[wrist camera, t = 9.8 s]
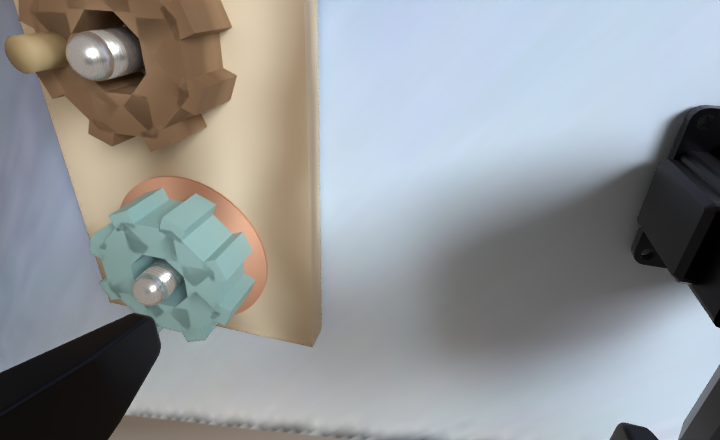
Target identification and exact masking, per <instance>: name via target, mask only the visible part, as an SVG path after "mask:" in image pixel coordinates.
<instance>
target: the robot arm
mask: <svg viewBox="0 0 720 440" xmlns="http://www.w3.org/2000/svg"><path fill="white" fill-rule="evenodd" d="M704 115H709V120H708V122H707V123H706V124H704V125H703V126H697V121H698V120H699V118H700V117H702V116H704ZM637 222H638V223H639V225H640V228H639V231H638V233H637V235H636V238H635V240H634V243H633V245H632V248H631V253H632V255H633V257H634V259H635V260H636V261H637V262H638V263H640V264H643V265H650V266H656V267H662V268H667V269H668V270H669V272H670V273H671V275H672V276H673V277H674V279H675V280H676V281H677V282H679V283H685V284H688V286H689V287H690V289H691V290H692V292H693V293H694V295H695V296H696V298H697V299H698V301H699V302H700V303H701V305H702V306H703V308H704V309H705V311H706V312H707V314H708V315H709V317H710V318H711V320H712V321H713V323H714V324H715V326H716V327H719V328H720V106H711V105H702V106H698V107H695V108H693V109H692V110H691V111H689V112H688V114H687V115H686V117H685V118H684V121H683V123H682V126H681V128H680V131H679V133H678V135H677V138H676V140H675V143H674V145H673V148H672V150H671V152H670V155H669V157H668V159H666V160H664V161H663V162H661V163H660V164H659V165H658V168H657V170H656V173H655V175H654V178H653V180H652V183H651V185H650V188H649V190H648V193H647V195H646V198H645V200H644V203H643V205H642V208H641V210H640V213H639V215H638V218H637ZM646 249H651V252H650V253H648V254H644V255H642V254H641V253H642V251H644V250H646ZM160 349H161V342H160V338H159V335H158V331H157V327H156V323H155V320H154V319H153V318H152V317H151V316H148V315H144V314H139V313H132V314H129V315H127V316H125V317H123V318H120V319H118V320H116V321H114V322H111V323H109V324H107V325H105V326H103V327H100V328H98V329H96V330H94V331H92V332H89V333H87V334H85V335H83V336H81V337H78V338H76V339H74V340H72V341H70V342H67V343H65V344H63V345H61V346H59V347H56V348H54V349H52V350H50V351H47V352H45V353H43V354H41V355H39V356H36V357H34V358H32V359H30V360H28V361H25V362H23V363H21V364H19V365H17V366H14V367H12V368H10V369H8V370H5V371H3V372H1V373H0V440H108V439H109V437H110V436H111V434H112V433H113V431H114V430H115V428H116V427H117V426H118V424H119V423H120V421H121V419H122V417H123V416H124V414H125V413H126V411H127V409H128V408H129V406H130V404H131V403H132V401H133V399H134V397H135V396H136V394H137V392H138V390H139V389H140V387H141V385H142V384H143V382H144V380H145V378H146V377H147V375H148V373H149V371H150V370H151V368H152V366H153V365H154V363H155V361H156V359H157V358H158V356H159V353H160ZM610 440H658V439H657V437H656V436H655V435H654V434H653V433H652V432H651V431H650V430H649V429H647V428H645V427H642V426H637V425H633V424H629V423H620V424H618V426H617V427H616V429H615V431H614V433H613V435H612V436H611V438H610ZM678 440H720V365H719V366H718V368H717V370H716V371H715V373H714V374H713V376H712V378H711V379H710V381H709V382H708V384H707V386H706V387H705V389H704V390H703V392H702V394H701V395H700V397H699V398H698V400H697V402H696V403H695V405H694V406H693V408H692V409H691V411H690V413H689V414H688V416H687V417H686V419H685V421H684V423H683V426H682V429H681V432H680V435H679V439H678Z"/></svg>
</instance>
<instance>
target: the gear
mask: <svg viewBox="0 0 720 440" xmlns="http://www.w3.org/2000/svg"><path fill="white" fill-rule="evenodd" d="M19 21H21V22H22V23H24V24H26V25H28V26H30V27H32V28H34V30H35V33H34V34H25V35H16V36H10V37H8V38H7V39H6V41H5V52H6V55H7V57H8V59H9V61H10V62H11V64H12V65H13V66H14V67H15V68H16V69H17V70H19V71H20V72H23V73H26V74H29V73H34V72H36V74H37V75H38V77H39V78H40V80H41V82H42V83H43V85H44V86H45V88H46V90H47V91H48V93H49V94H50V96H51V98H52V99H55V98H59V97H63V96H65V97H66V98H67V99H68V100H69V101H70V102H71V103H72V104H73V105H74V106H75V107H76V108H77V109H78V110H79V111H80V112H82V113H83V114H84V115H85V116H86V117H87V118H88V119H89V129H88V134H90V135H91V136H93V137H95V138H97V139H99V140H101V141H103V142H104V143H106V144H108V145H110V146H112V147H113V146H115V145H117V144H120V143H122V142H124V141H127V140H129V139H131V138H133V137H136V136H139V137H143V139H144V141H145V143H146V144H147V146H148V148H149V150H150V151H151V152H152V151H155V150H158V149H161V148H164V147H167V146H170V145H172V144H174V143H176V142H178V141H180V140H182V139H184V138H186V137H188V136H190V135H192V134H194V133H196V132H198V131H200V130H201V129H203V128H205V127H207V125H206V123H205V121H204V119H203V117H202V115H201V113H203V112H205V111H207V110H210V109H212V108H214V107H216V106H218V105H221V104H223V103H225V102H227V101H229V100H231V96H232V93H233V89H234V85H235V82H236V78H237V75H235V74H234V73H232V72H230V71H228V70H226V69H224V68H223V61H222V53H221V44H220V35H219V33H220V32H222V31H224V30H227V29H229V28H231V27H232V25H231V23H230V20H229V18H228V16H227V14H226V11H225V9H224V7H223V4H222V2H221V0H19ZM124 23H125V24H126V25H127V26H128V28H129V29H130V30H131V31H132V32H133V33H134V34H135V35H136V36H137V37H138V38H139V40H140V45H141V50H142V55H143V60H144V65H145V70H146V75H144V74H143V73H142V72H141V71H140V72H136V73H132V74H128V75H124V76H120V77H116V78H112V79H108V80H104V81H93V80H88V79H86V78H84V77H82V76H80V75H79V74H77V73H76V72H75V71H74V70H73V69H72V68H71V66H70V65H69V63H68V61H67V58H66V52H65V51H66V45H67V42H68V41H69V40H70V38H71V37H72V36H74V35H75V34H77V33H80V32H83V31H92V30H100V29H109V28H117V27H122V26H123V25H124Z"/></svg>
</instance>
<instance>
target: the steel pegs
mask: <svg viewBox="0 0 720 440" xmlns="http://www.w3.org/2000/svg"><path fill="white" fill-rule="evenodd" d="M65 52H66V58H67V61H68V63H69V65H70V66H71V68H72V69H73V70H74V71H75V72H76V73H77V74H79V75H80V76H82V77H84V78H86V79H88V80H93V81H104V80H108V79H112V78H116V77H120V76H124V75H128V74H132V73H136V72H140V71H143V70H145V65H144V60H143V55H142V50H141V45H140V40H139V38H138V37H137V36H136V35H135V34H134V33H133V32H132V31H131V30H130V29H129V28H128V26H126V27H117V28H109V29H100V30H92V31H83V32H80V33H77V34H75V35H74V36H72V37H71V38H70V40H69V41H68V42H67V45H66V51H65ZM184 281H185V280H184V277H183V276H182V275H181V274H180V273H179V272H178V271H177V270H176V269H175V268H174V267H173V266H172V265H170V264H169V263H168V262H167V261H166V260H165V259H162V258H159V259H158V260H157V261H156V262H155V263H153V264H152V265H151V266H150V267H149V268H147V269H146V270H145V271H144V272H143V273H141V274H140V275H139V276H138V277H137V278H136V280H135V281H134V283H133V287H132V291H133V295H134V297H135V299H136V300H137V301H138V302H139V303H141V304H144V305H147V306H154V305H158V304H160V303H162V302H163V301H165V300H166V299H167V298H168V297H169V296H170V295H171V294H172V293H173V292H174V291H175V290H176V289H177V288H178V287H179V286H180V285H181V284H182V283H183V282H184Z"/></svg>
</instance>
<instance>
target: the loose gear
mask: <svg viewBox="0 0 720 440" xmlns="http://www.w3.org/2000/svg"><path fill="white" fill-rule="evenodd" d="M215 207H216V204H215V203H213V202H211V201H209V200H207V199H206V198H204V197H202V196H200V195H198V194H196V193H195V194H194V195H193V196H191V197H190V198H188V199H187V200H186V201H184V202H182V201H176V200H170V199H169V198H168V196H167V195H166V193H165V191H164V189H163V188H160V189H157V190H153V191H150V192H146V193H145V194H143V195H141V196H140V197H138V198H136V199H135V200H133V201H132V202H130V203H128V204H127V205H125V206H123V207H122V208H120V209H119V210H117V211H115V212H114V213H112V214H110V215H109V216H108V217H109V219H110V220H111V222H112V223H110V224H109V225H107V226H106V227H104V228H102V229H101V230H99V231H98V232H96V233H95V234H93V235H91V242H90V251H89V253H91V254H93V255H95V256H97V257H99V258H100V259H101V260H102V263H103V267H104V270H105V273H106V277H105V278H104V279H103V280H102V281H100V282H99V283H100V285H101V286H102V288H103V289H104V291H105V292H106V294H107V295H108V296H109V298H110V299H111V300H115V299H121V300H122V301H123V302H124V303H125V304H126V305H128V306H129V307H130V308H131V309H132V310H133V311H134V312H135V313H139V314H144V315H148V316H151V317H152V318H153V319H154V320H155V323H156V327H157V331H158V333H159V332H160V331H161V330H162V328H166V329H170V330H174V331H179V332H182V333H183V335H184V337H185V338H186V340H187V341H188V342H191V341H200V340H205V339H206V338H207V337H208V335H209V334H210V333H211V332H212V330H213V329H214V328H215V326H216V325H217V324H218V323H220V324H222V325H224V326H226V324H227V323H228V322H229V320H230V319H231V318H232V316H233V315H234V314H235V313H236V311H237V310H238V309H239V307H240V306H241V305H242V303H243V302H244V301H245V299H246V298H247V297H248V295H249V294H250V292H251V289H252V287H253V285H254V282H255V279H253V278H251V277H249V276H247V275H246V274H245V272H244V263H243V261H244V260H245V259H246V258H247V257H248V256H249V255H250V253H251V252H252V251H253V250H252V248H251V246H250V244H249V242H248V240H247V238H246V236H245V234H244V232H239V233H234V234H232V233H231V232H230V231H229V230H228V229H227V228H226V227H225V226H224V225H223V224H222V223H221V222H220V221H219V220H218V219H217V218H216V217H215V216H214V215H213V214H214V210H215ZM159 258H162V259H165V260H166V261H167V262H168V263H169V264H170V265H172V266H173V267H174V268H175V269H176V270H177V271H178V272H179V273H180V274H181V275H182V276H183V277H184V280H185V281H184V282H183V283H182V284H181V285H180V286H179V287H178V288H177V289H176V290H175V291H174V292H173V293H172V294H171V295H170V296H169V297H168V298H167V299H166V300H165V301H163V302H162V303H160V304H158V305H154V306H147V305H144V304H141V303H139V302H138V301H137V300H136V299H135V297H134V295H133V291H132V287H133V283H134V281H135V280H136V278H137V277H138V276H139V275H140V274H141V273H143V272H144V271H145V270H146V269H147V268H149V267H150V266H151V265H152V264H153V263H155V262H156V261H157V260H158V259H159Z"/></svg>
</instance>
